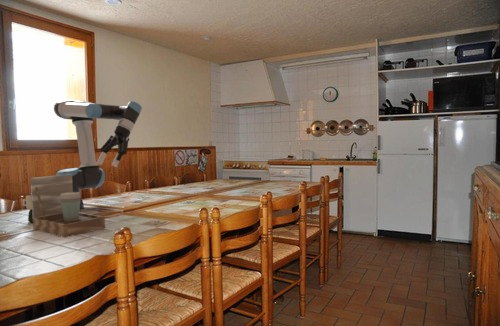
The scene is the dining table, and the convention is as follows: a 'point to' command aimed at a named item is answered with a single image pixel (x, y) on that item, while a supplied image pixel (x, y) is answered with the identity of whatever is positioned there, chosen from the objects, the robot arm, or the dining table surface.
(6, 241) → the dining table surface
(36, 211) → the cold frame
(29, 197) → the character mug
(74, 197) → the coffee cup
